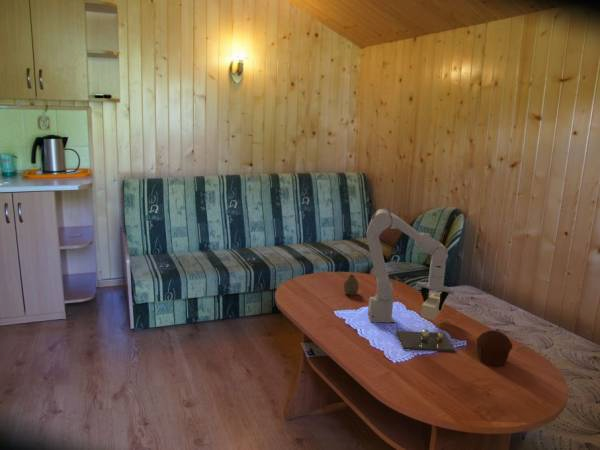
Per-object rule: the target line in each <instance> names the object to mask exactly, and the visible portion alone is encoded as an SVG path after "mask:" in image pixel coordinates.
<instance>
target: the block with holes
mask: <svg viewBox="0 0 600 450" xmlns="http://www.w3.org/2000/svg"><path fill="white" fill-rule="evenodd" d="M440 294H441V293H435V292H431V294H430V295H429V296H428V299H427V300H426V301H425V302H424V301H423V303H422V304H421V312H420V313H421V314H420V318H423V319H428V320H432V321H434V320H435V319H436V318H437V316H438V315H439V314H440V313H441V311H442V310H443V309H444V308H445V302H444V303H443V306H442V309H441V311H440V310H439V304H440Z"/></svg>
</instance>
